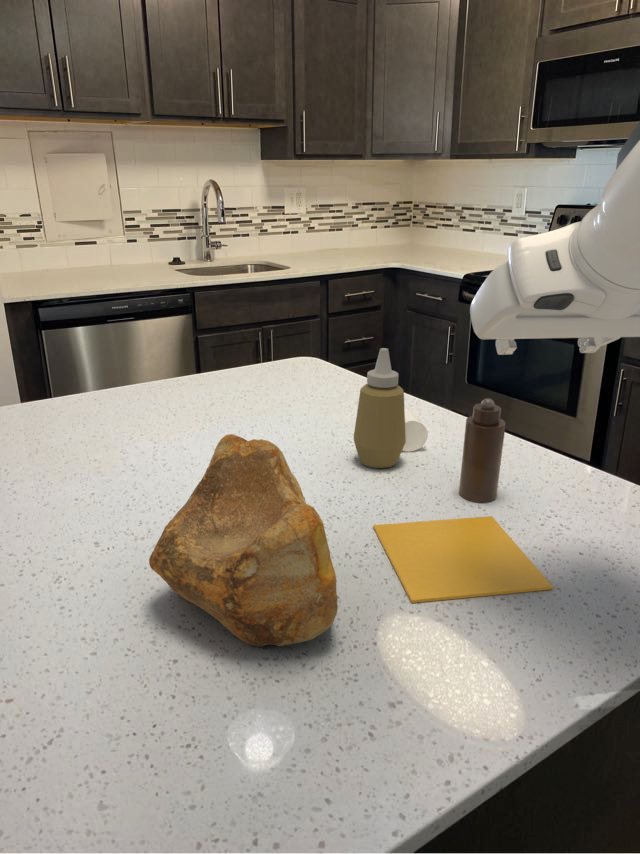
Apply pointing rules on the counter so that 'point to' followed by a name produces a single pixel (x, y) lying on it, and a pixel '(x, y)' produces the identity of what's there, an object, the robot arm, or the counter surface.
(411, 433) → the roll
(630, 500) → the counter surface
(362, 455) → the squeeze bottle
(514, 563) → the yellow square plate
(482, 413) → the pepper mill
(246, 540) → the rough brown rock
